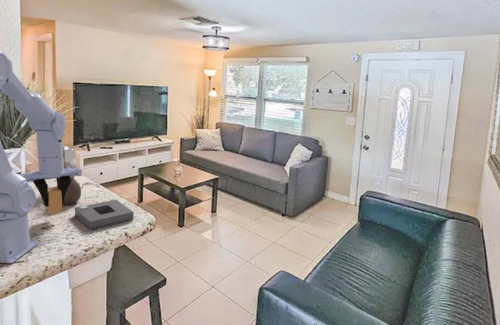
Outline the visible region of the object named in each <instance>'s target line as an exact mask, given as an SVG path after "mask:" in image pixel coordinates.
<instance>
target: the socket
mask: <svg viewBox="0 0 500 325" xmlns="http://www.w3.org/2000/svg"><path fill="white" fill-rule="evenodd" d="M134 214H135V212H134V211H133V210H131V209H130V208H129V207H127V206H126V205H124V204H123V203H122V202H121V201H119V200H117V199H112V200H108V201H107V200H105V201H101V202H95V203H92V204H87V205H86V204H85V205H80V206H75V207H74V216H76V218H77V219H79V221H80V222H82V224H84V226H86V228H88V229H89V231H93V230H96V229H100V228H105V227H109V226H112V225H116V224H122V223H126V222H129V220H130V221H133V220H132V219H134ZM125 221H126V222H125ZM121 222H122V223H121Z"/></svg>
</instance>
